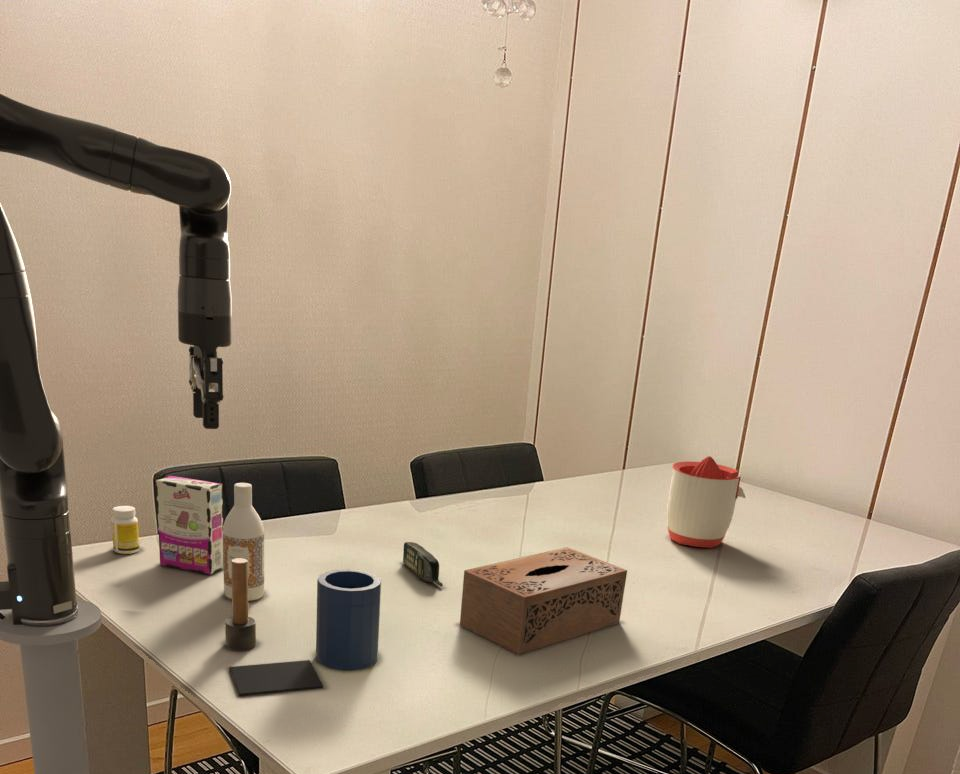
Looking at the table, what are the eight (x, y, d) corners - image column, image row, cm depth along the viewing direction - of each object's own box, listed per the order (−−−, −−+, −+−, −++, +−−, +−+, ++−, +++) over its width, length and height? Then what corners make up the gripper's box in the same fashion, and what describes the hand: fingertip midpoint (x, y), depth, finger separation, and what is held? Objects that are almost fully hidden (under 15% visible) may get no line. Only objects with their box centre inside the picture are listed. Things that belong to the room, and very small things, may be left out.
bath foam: (218, 599, 168) (215, 487, 160) (231, 586, 175) (229, 477, 167) (257, 604, 168) (256, 492, 160) (269, 590, 174) (269, 481, 166)
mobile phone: (401, 540, 192) (433, 563, 180) (415, 539, 193) (447, 561, 181) (400, 564, 194) (431, 588, 182) (413, 563, 195) (446, 586, 183)
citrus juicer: (738, 556, 217) (756, 469, 209) (661, 546, 219) (675, 459, 211) (733, 536, 232) (749, 454, 224) (660, 527, 234) (673, 445, 226)
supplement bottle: (144, 550, 188) (142, 508, 185) (125, 556, 184) (122, 513, 181) (127, 544, 190) (125, 503, 187) (108, 550, 186) (105, 508, 183)
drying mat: (239, 696, 136) (239, 693, 136) (229, 669, 144) (229, 666, 144) (323, 688, 141) (323, 685, 141) (309, 662, 148) (309, 660, 148)
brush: (228, 651, 149) (226, 566, 144) (223, 640, 153) (221, 556, 148) (258, 649, 151) (257, 564, 146) (253, 637, 155) (252, 554, 149)
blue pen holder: (324, 673, 145) (326, 592, 140) (310, 647, 153) (311, 570, 148) (384, 667, 149) (388, 588, 144) (367, 643, 157) (370, 567, 152)
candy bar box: (225, 568, 183) (224, 483, 176) (211, 575, 179) (209, 489, 172) (173, 557, 186) (170, 473, 179) (158, 565, 181) (154, 479, 175)
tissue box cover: (518, 654, 158) (524, 597, 154) (459, 624, 167) (464, 570, 163) (619, 622, 174) (627, 570, 170) (560, 597, 184) (567, 547, 180)
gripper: (170, 304, 145) (173, 413, 151) (186, 313, 133) (187, 431, 139) (221, 307, 148) (222, 415, 154) (241, 317, 136) (240, 432, 142)
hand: (205, 422), depth 146 cm, fingers open, 8 cm apart
